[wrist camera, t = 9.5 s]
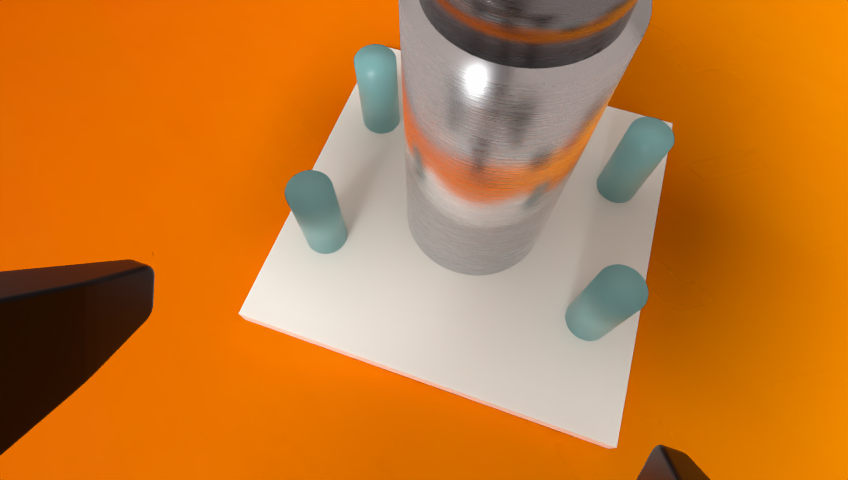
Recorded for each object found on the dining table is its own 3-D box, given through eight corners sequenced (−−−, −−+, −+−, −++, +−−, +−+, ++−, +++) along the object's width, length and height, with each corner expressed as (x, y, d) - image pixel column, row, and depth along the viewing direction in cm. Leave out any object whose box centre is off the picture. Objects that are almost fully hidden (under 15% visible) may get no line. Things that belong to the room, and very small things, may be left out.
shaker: (489, 303, 19) (588, 73, 8) (379, 221, 20) (334, -73, 9) (567, 204, 21) (736, -96, 10) (461, 134, 22) (504, -197, 11)
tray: (608, 448, 18) (663, 443, 14) (245, 319, 19) (200, 281, 15) (664, 134, 23) (714, 65, 19) (377, 56, 25) (369, -21, 21)
